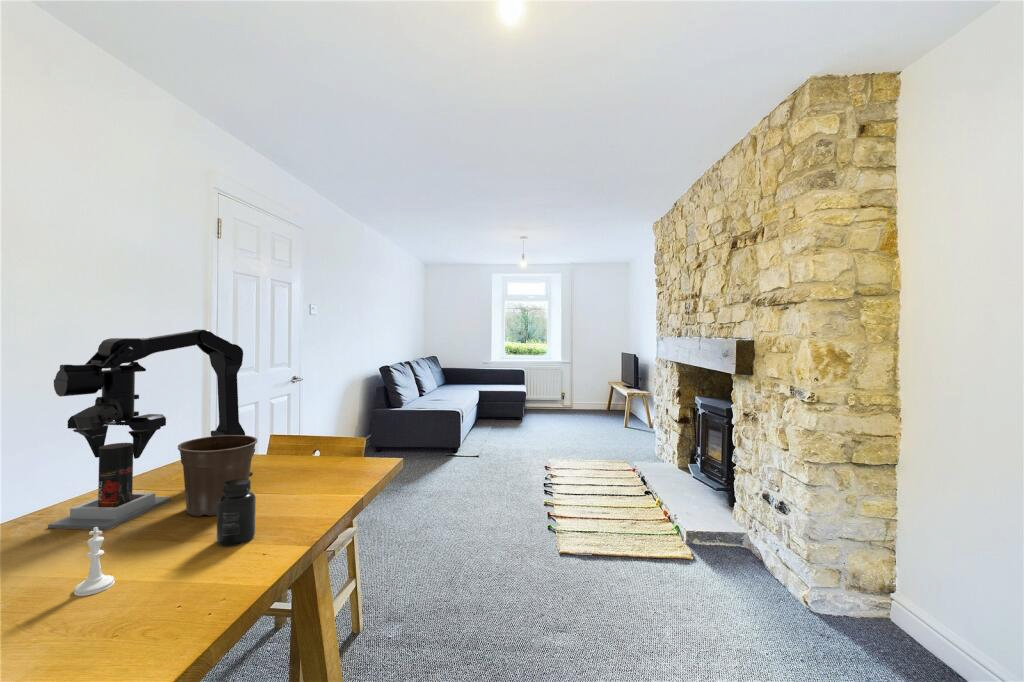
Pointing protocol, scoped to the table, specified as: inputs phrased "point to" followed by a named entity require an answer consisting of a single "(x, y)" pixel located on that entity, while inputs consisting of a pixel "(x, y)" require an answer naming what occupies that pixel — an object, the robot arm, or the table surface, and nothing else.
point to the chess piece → (94, 569)
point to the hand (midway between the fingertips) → (117, 457)
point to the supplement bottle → (236, 513)
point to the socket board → (108, 513)
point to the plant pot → (213, 468)
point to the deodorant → (115, 474)
